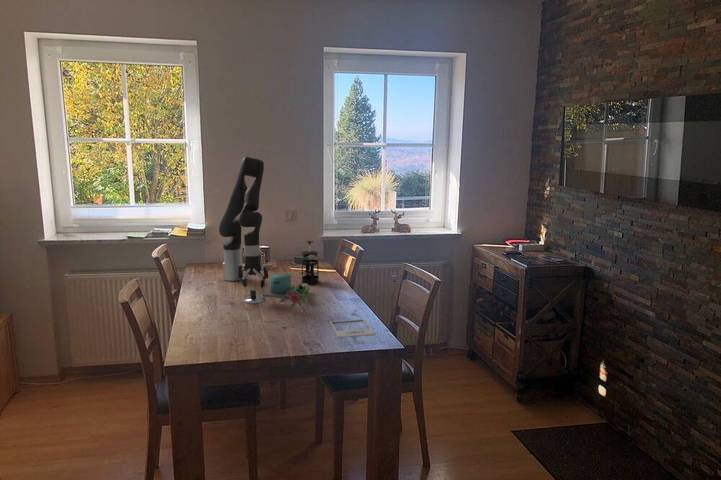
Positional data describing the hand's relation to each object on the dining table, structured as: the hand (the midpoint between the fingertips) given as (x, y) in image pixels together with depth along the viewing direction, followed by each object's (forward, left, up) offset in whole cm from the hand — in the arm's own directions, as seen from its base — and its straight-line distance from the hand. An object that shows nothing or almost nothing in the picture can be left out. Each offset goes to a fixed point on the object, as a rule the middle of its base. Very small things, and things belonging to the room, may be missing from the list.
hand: (253, 287), depth 261 cm
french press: (+18, +36, -7) cm, 41 cm away
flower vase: (+23, +1, -7) cm, 24 cm away
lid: (0, 0, -7) cm, 7 cm away
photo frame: (+54, -31, -7) cm, 63 cm away
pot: (+9, +14, -6) cm, 18 cm away
